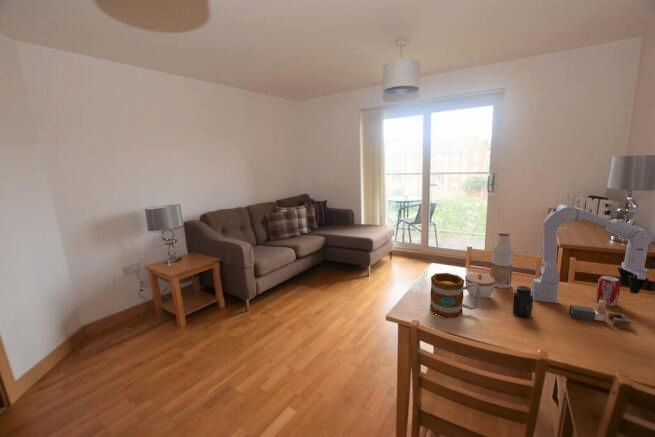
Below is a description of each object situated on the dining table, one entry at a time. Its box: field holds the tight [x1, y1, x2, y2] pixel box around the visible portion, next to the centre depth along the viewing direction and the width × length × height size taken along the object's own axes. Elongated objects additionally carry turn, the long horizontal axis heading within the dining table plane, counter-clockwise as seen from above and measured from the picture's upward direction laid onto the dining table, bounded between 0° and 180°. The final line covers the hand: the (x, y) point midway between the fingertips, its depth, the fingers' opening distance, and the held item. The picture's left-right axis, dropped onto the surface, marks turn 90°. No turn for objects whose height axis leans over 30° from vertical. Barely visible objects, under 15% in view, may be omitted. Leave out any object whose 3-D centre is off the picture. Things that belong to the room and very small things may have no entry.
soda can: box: [595, 275, 621, 307], centre depth 126 cm, size 7×7×12 cm
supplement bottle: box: [512, 285, 534, 319], centre depth 120 cm, size 7×7×12 cm
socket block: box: [606, 311, 632, 329], centre depth 112 cm, size 4×6×3 cm
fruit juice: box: [489, 231, 515, 289], centre depth 147 cm, size 9×9×28 cm
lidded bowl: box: [464, 272, 495, 300], centre depth 138 cm, size 13×13×11 cm
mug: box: [429, 272, 480, 319], centre depth 125 cm, size 20×14×15 cm
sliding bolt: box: [571, 300, 607, 322], centre depth 116 cm, size 10×3×8 cm, turn 63°
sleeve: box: [568, 304, 596, 323], centre depth 117 cm, size 7×4×4 cm, turn 63°
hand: (629, 289), depth 118 cm, fingers open, 7 cm apart
